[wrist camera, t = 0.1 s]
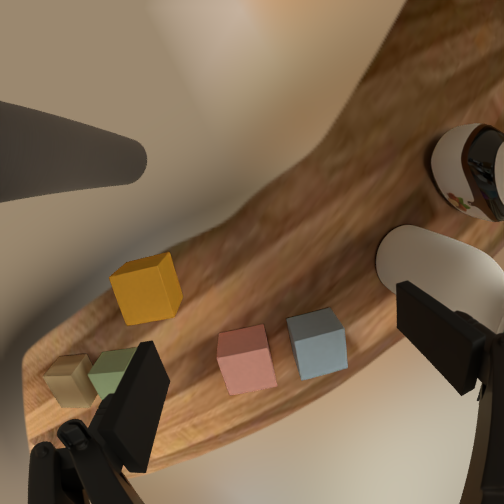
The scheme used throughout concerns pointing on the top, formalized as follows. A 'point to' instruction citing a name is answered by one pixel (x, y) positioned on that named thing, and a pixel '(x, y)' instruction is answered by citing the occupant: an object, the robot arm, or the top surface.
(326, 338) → the blue-grey block
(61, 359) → the birch block
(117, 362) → the sage block
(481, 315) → the milk bottle
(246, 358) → the dusty pink block
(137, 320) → the ochre block
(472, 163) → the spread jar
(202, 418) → the top surface
